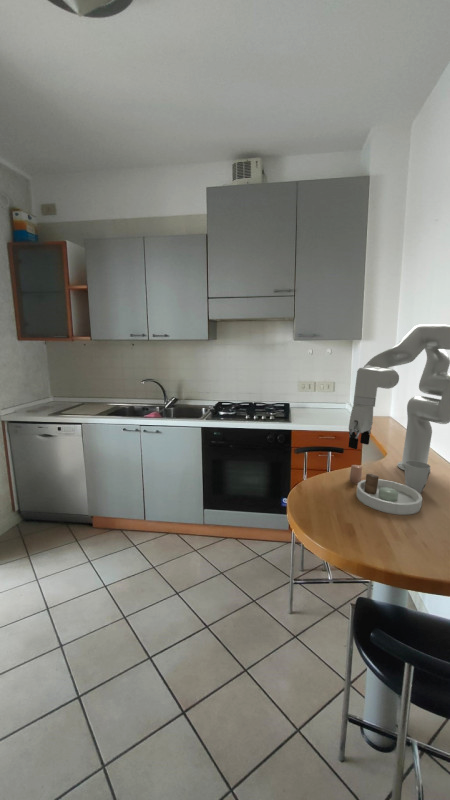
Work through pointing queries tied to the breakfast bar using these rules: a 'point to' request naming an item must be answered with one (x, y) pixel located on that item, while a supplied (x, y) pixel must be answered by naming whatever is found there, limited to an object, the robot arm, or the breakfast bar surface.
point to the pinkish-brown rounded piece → (355, 474)
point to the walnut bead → (371, 483)
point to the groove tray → (396, 507)
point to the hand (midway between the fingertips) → (358, 445)
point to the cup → (416, 475)
